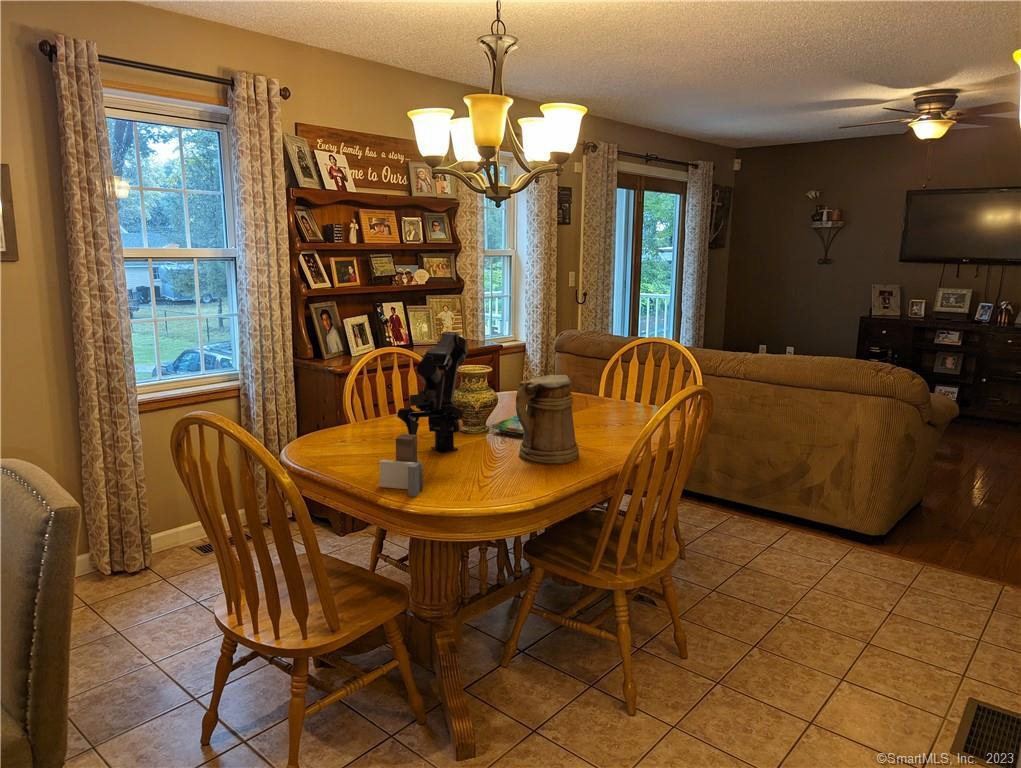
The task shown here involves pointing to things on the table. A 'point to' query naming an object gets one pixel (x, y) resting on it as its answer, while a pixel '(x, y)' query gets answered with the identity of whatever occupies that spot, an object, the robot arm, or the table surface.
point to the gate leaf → (397, 474)
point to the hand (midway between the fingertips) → (425, 442)
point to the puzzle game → (510, 426)
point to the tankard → (546, 420)
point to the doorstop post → (406, 448)
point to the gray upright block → (413, 480)
